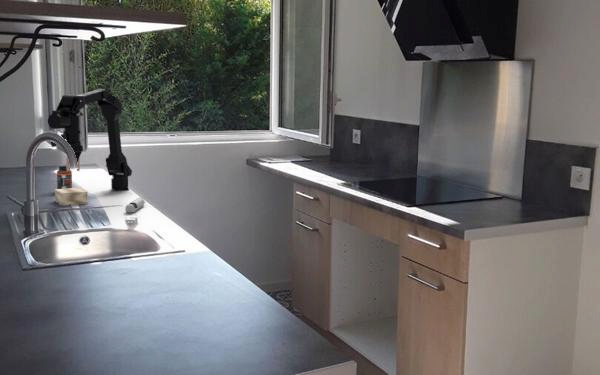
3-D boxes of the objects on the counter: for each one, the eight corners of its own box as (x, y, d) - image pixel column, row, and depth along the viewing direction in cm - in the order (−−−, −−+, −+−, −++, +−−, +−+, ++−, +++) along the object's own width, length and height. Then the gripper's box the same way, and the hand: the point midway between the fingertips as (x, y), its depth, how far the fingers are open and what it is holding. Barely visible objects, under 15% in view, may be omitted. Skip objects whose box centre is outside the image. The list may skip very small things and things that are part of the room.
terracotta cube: (78, 169, 253) (78, 156, 252) (79, 170, 248) (79, 158, 248) (66, 169, 251) (66, 157, 250) (67, 171, 247) (67, 158, 246)
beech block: (81, 199, 257) (80, 187, 257) (87, 204, 249) (87, 191, 248) (55, 201, 252) (54, 189, 251) (61, 206, 244) (60, 193, 243)
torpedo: (135, 214, 233) (135, 197, 232) (122, 214, 233) (122, 196, 232) (149, 205, 251) (148, 188, 249) (137, 204, 251) (136, 188, 250)
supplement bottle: (67, 193, 268) (66, 166, 266) (54, 192, 270) (53, 165, 268) (75, 190, 274) (74, 164, 272) (62, 190, 275) (61, 164, 273)
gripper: (48, 125, 252) (49, 165, 255) (50, 129, 235) (51, 171, 238) (78, 126, 257) (79, 164, 259) (82, 129, 240) (83, 170, 242)
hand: (72, 167), depth 249 cm, fingers closed on terracotta cube, 4 cm apart
